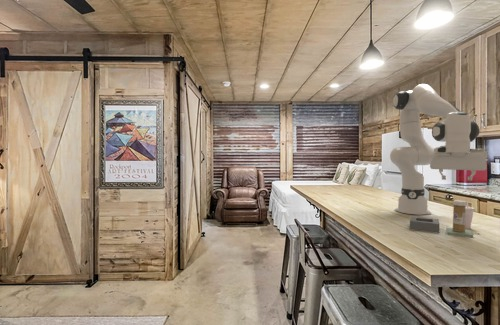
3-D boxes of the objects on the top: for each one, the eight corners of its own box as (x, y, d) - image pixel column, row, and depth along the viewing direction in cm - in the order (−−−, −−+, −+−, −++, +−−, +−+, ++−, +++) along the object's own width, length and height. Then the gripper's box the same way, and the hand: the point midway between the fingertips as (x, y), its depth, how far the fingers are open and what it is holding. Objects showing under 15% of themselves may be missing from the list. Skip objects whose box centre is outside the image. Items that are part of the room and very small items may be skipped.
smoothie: (477, 229, 132) (477, 199, 131) (461, 229, 133) (462, 199, 132) (469, 226, 138) (470, 197, 137) (454, 225, 139) (455, 197, 139)
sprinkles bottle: (450, 230, 127) (450, 200, 127) (456, 229, 129) (456, 199, 129) (461, 233, 123) (462, 201, 123) (467, 231, 125) (468, 201, 125)
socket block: (410, 224, 142) (411, 216, 142) (438, 227, 136) (438, 218, 136) (409, 229, 133) (410, 221, 132) (439, 233, 127) (439, 224, 127)
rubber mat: (445, 229, 132) (445, 227, 132) (470, 232, 128) (470, 230, 127) (447, 234, 125) (447, 232, 124) (473, 237, 120) (473, 235, 120)
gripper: (486, 148, 123) (485, 180, 124) (430, 148, 134) (429, 178, 134) (489, 148, 118) (488, 182, 118) (430, 148, 128) (429, 179, 129)
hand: (456, 180), depth 126 cm, fingers open, 8 cm apart
